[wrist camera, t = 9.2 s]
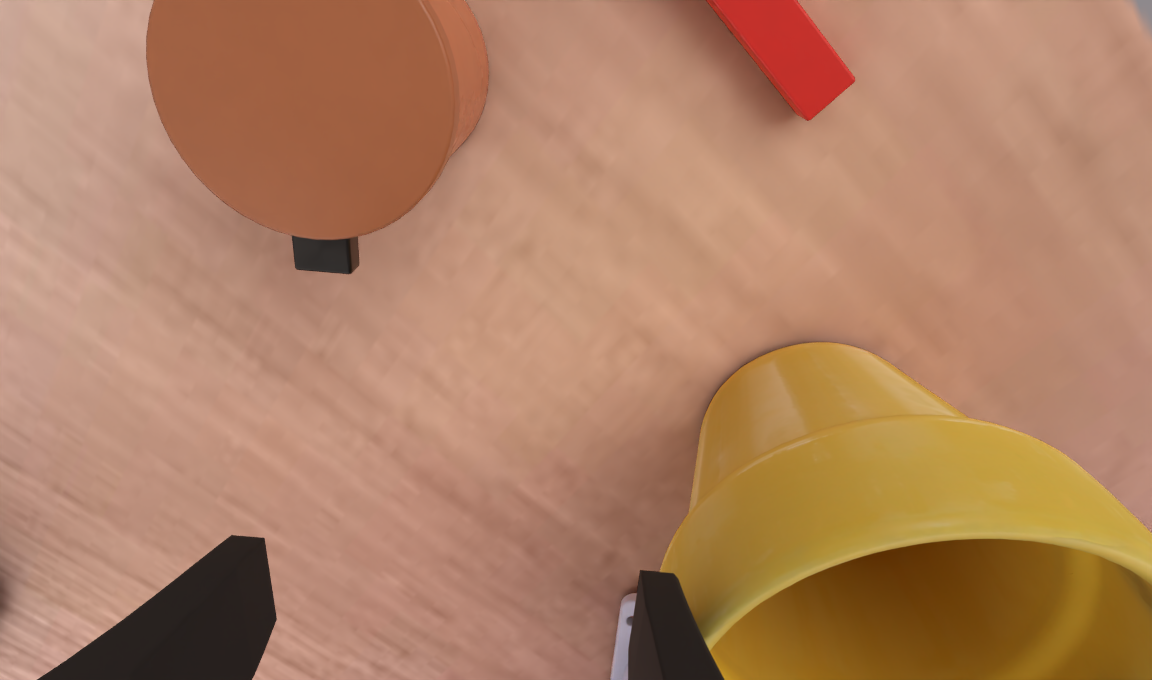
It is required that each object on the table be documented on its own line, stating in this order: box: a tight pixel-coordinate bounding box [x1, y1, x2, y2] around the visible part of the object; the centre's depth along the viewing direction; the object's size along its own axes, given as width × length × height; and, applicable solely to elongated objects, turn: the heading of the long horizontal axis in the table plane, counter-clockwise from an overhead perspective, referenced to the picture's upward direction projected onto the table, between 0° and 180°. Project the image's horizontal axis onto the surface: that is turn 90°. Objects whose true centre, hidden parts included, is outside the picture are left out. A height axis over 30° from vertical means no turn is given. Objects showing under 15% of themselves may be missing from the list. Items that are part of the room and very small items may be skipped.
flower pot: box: [660, 342, 1152, 680], centre depth 18 cm, size 10×10×10 cm
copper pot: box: [146, 0, 489, 274], centre depth 15 cm, size 7×6×6 cm
